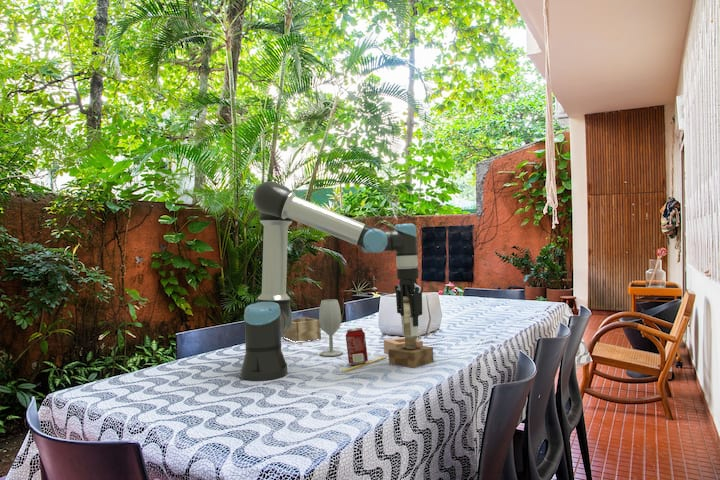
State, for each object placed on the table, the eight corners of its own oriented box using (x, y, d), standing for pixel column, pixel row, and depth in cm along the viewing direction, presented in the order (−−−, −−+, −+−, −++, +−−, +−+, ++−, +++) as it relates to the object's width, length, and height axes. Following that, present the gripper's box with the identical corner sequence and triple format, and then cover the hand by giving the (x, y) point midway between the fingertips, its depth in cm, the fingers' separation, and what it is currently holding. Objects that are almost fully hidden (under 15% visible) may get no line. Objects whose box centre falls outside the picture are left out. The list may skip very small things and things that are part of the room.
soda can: (366, 364, 172) (362, 329, 173) (346, 366, 173) (343, 331, 174) (369, 361, 178) (365, 327, 179) (351, 362, 180) (347, 328, 181)
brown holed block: (414, 367, 168) (413, 352, 168) (389, 363, 175) (388, 349, 175) (433, 361, 176) (432, 347, 176) (408, 358, 183) (407, 344, 183)
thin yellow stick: (344, 372, 165) (344, 371, 165) (341, 372, 166) (341, 370, 166) (386, 358, 184) (386, 357, 184) (383, 358, 185) (383, 356, 185)
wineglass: (332, 357, 188) (330, 301, 189) (315, 355, 194) (313, 301, 194) (347, 353, 195) (345, 299, 196) (330, 351, 201) (328, 298, 201)
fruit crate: (295, 343, 221) (294, 323, 221) (283, 339, 233) (282, 320, 233) (321, 339, 228) (320, 320, 228) (307, 336, 239) (307, 317, 239)
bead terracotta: (396, 358, 184) (396, 344, 184) (384, 352, 194) (383, 339, 194) (423, 354, 188) (422, 341, 188) (409, 349, 198) (409, 336, 198)
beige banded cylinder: (410, 349, 173) (407, 297, 173) (402, 348, 176) (400, 296, 177) (419, 348, 175) (417, 296, 175) (412, 346, 178) (409, 295, 179)
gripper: (431, 267, 171) (434, 336, 170) (401, 267, 185) (404, 330, 185) (413, 268, 167) (417, 339, 166) (384, 268, 181) (387, 333, 181)
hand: (410, 334), depth 176 cm, fingers closed on beige banded cylinder, 4 cm apart
